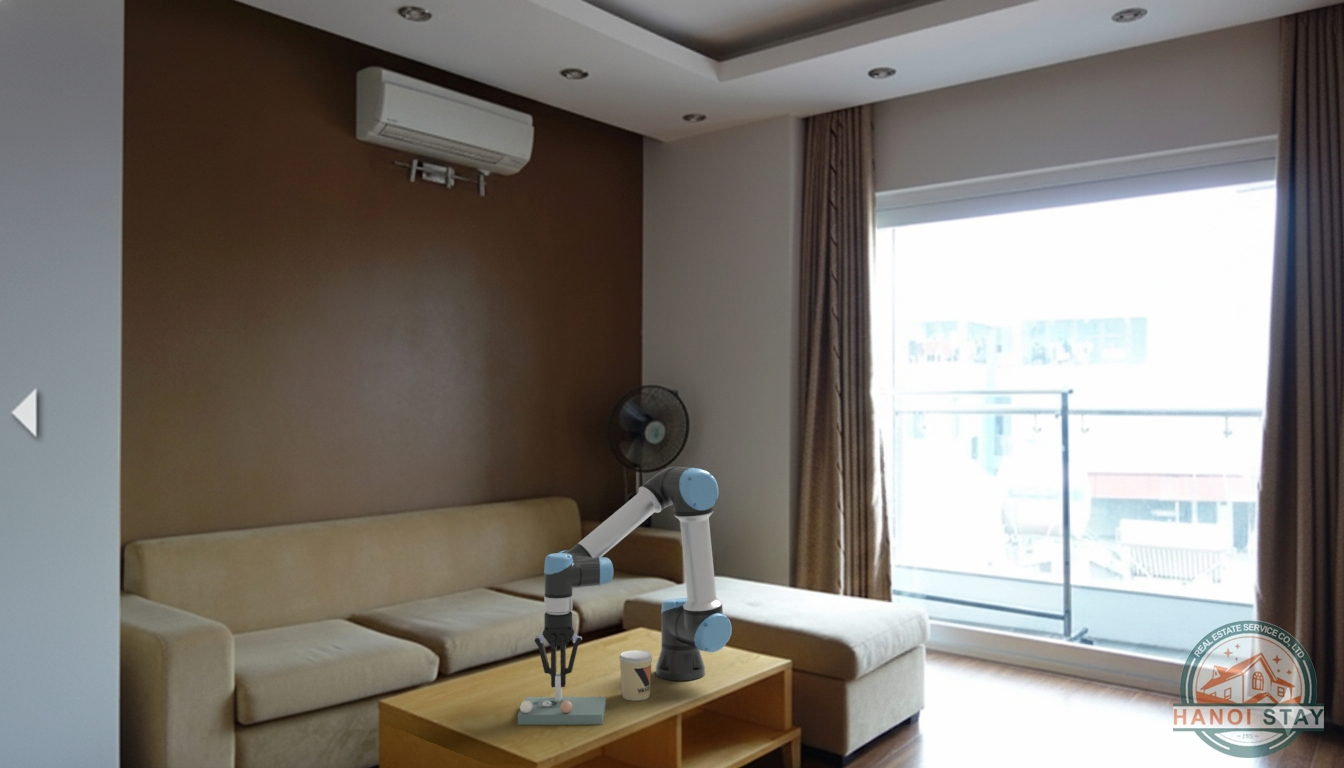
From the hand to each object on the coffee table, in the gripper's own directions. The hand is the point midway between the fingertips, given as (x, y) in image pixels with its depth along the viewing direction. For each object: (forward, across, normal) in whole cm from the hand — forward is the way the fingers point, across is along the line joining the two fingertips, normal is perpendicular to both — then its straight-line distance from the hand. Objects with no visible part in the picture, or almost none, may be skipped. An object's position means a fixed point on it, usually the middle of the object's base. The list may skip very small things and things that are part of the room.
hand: (558, 698), depth 259 cm
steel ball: (+2, +3, 0) cm, 4 cm away
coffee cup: (+4, -20, -14) cm, 25 cm away
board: (+4, -2, +2) cm, 4 cm away
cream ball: (0, +8, +8) cm, 11 cm away
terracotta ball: (0, -3, +8) cm, 9 cm away
